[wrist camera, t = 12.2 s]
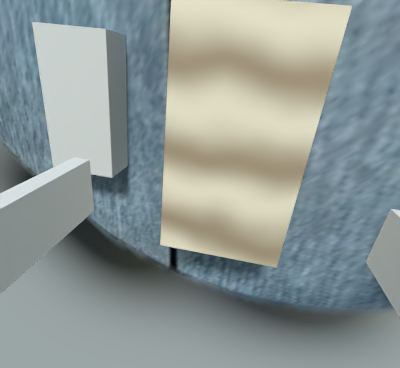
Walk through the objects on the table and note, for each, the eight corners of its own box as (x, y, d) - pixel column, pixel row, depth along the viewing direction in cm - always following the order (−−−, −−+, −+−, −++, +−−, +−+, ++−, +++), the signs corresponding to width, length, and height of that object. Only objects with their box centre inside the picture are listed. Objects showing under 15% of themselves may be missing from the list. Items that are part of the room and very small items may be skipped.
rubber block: (61, 28, 26) (32, 22, 23) (125, 35, 26) (105, 29, 22) (75, 157, 32) (53, 168, 29) (127, 165, 31) (112, 177, 28)
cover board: (180, 2, 19) (171, -8, 16) (338, 14, 17) (352, 5, 15) (167, 230, 27) (160, 244, 25) (273, 250, 26) (276, 267, 23)
